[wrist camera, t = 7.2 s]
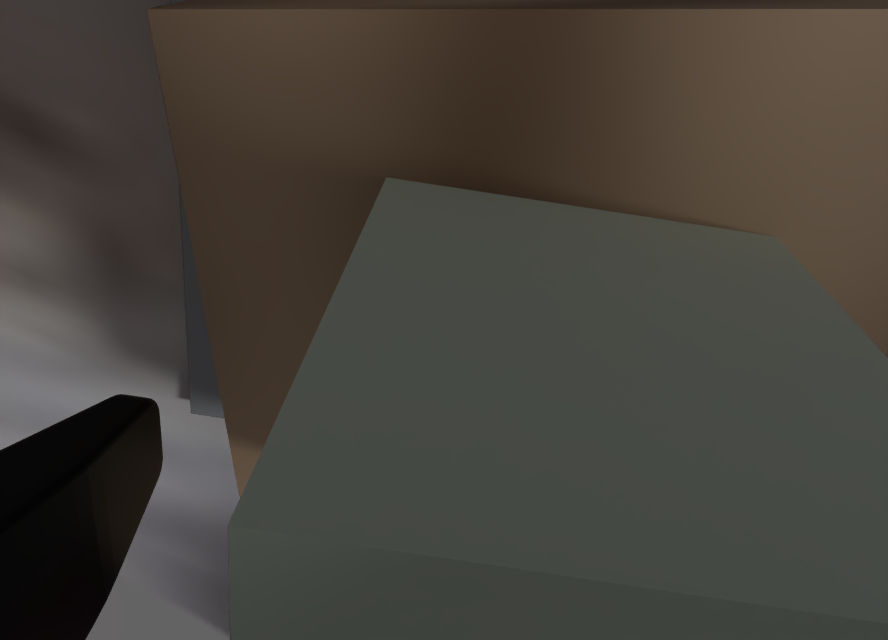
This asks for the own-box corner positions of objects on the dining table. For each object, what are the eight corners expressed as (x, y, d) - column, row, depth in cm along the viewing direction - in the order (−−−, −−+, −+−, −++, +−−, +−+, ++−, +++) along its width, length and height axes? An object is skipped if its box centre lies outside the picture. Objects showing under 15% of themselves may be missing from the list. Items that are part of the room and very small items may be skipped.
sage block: (775, 236, 9) (1167, 663, 4) (664, 522, 11) (806, 1026, 6) (387, 177, 9) (226, 525, 4) (357, 477, 11) (235, 945, 6)
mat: (997, -2, 12) (1012, 0, 12) (766, 488, 17) (771, 500, 17) (173, -128, 12) (163, -130, 11) (197, 403, 17) (191, 413, 17)
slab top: (900, -8, 10) (1007, 9, 8) (755, 514, 14) (799, 611, 12) (216, -6, 10) (146, 9, 8) (289, 494, 15) (256, 583, 13)
